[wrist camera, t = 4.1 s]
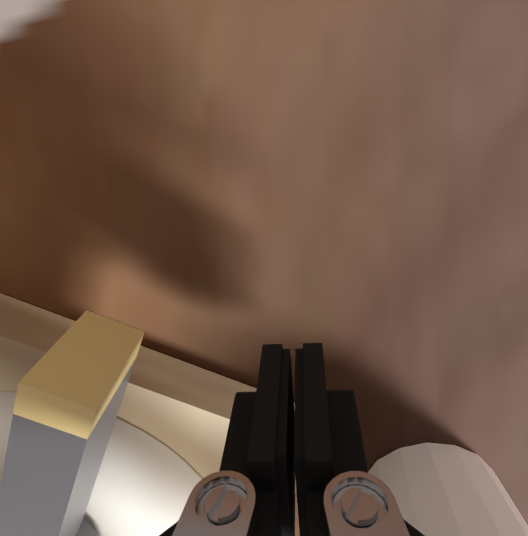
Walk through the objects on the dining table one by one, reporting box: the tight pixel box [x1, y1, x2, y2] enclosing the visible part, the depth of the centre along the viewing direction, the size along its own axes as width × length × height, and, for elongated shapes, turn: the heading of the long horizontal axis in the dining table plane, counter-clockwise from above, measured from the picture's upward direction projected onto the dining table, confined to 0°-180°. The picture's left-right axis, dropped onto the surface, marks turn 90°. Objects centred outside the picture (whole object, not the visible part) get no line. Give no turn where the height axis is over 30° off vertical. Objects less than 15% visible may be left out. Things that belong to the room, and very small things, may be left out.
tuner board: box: [0, 293, 297, 536], centre depth 18 cm, size 18×16×2 cm
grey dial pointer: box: [0, 310, 144, 536], centre depth 14 cm, size 16×4×3 cm, turn 158°
